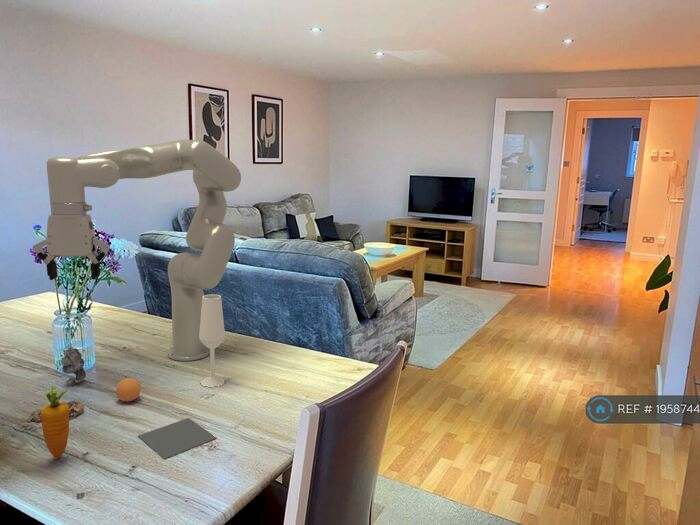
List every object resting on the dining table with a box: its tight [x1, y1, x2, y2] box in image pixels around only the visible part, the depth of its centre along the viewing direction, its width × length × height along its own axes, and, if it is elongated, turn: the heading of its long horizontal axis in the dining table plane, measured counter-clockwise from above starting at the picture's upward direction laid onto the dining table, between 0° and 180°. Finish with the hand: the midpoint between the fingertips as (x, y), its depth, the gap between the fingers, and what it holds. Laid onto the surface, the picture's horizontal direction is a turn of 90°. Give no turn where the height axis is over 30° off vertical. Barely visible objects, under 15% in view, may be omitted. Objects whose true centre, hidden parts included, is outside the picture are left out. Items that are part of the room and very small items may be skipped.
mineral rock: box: [30, 400, 85, 423], centre depth 119 cm, size 11×4×8 cm
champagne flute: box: [199, 294, 226, 387], centre depth 138 cm, size 7×7×24 cm
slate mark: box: [137, 417, 218, 460], centre depth 111 cm, size 12×12×1 cm
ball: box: [115, 377, 142, 402], centre depth 127 cm, size 6×6×6 cm
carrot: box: [41, 385, 70, 460], centre depth 100 cm, size 5×5×15 cm
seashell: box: [60, 346, 87, 385], centre depth 135 cm, size 5×5×10 cm
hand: (74, 278), depth 128 cm, fingers open, 9 cm apart
